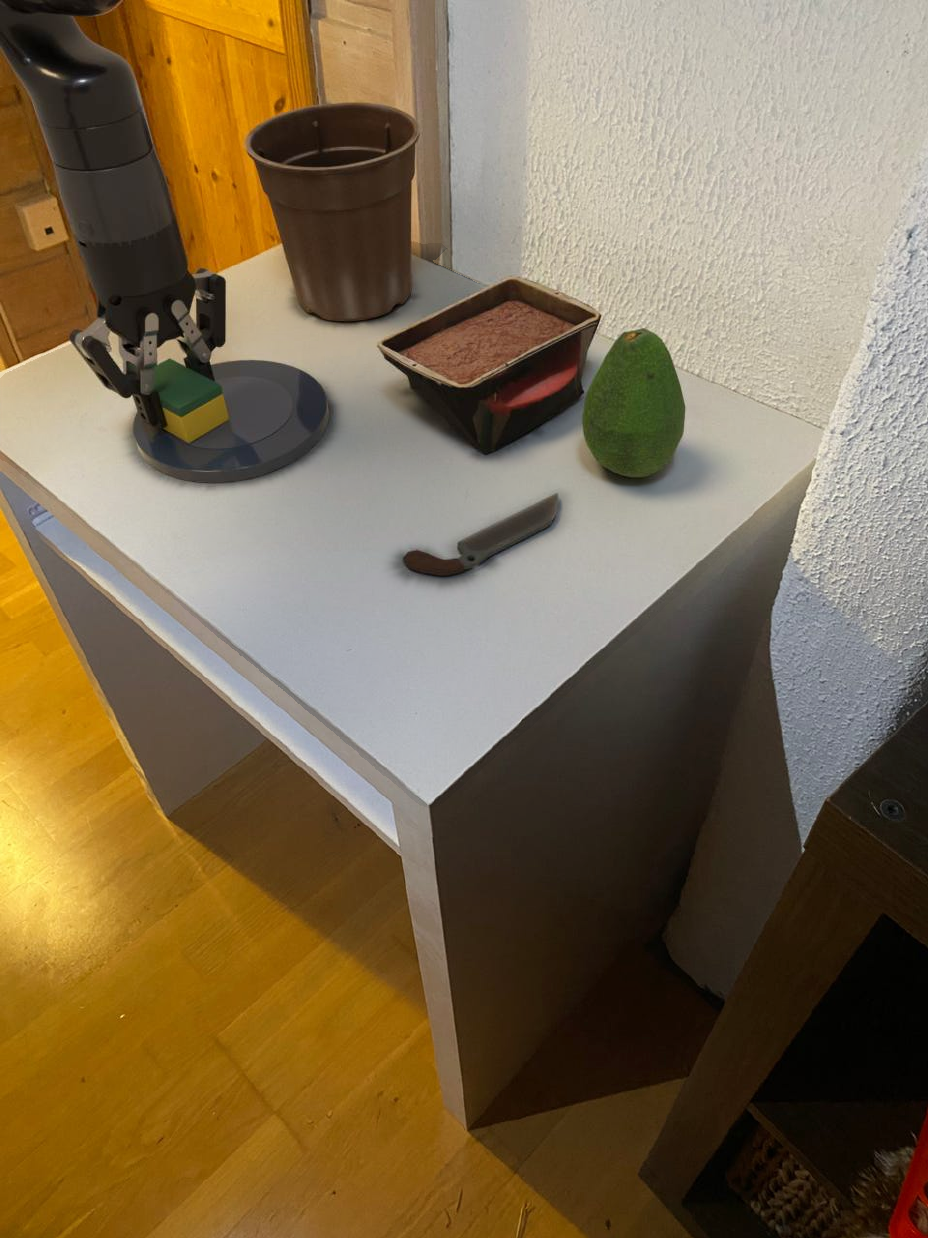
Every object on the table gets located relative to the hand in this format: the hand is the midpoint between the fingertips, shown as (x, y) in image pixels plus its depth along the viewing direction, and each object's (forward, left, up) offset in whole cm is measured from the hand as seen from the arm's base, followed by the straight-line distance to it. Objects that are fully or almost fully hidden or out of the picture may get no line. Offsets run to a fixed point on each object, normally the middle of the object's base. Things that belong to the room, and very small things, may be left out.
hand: (181, 410), depth 80 cm
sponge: (0, 0, -1) cm, 1 cm away
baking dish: (+20, -19, -2) cm, 28 cm away
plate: (+3, -3, -2) cm, 5 cm away
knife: (+5, -30, -2) cm, 31 cm away
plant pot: (+26, +5, -2) cm, 27 cm away
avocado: (+19, -34, -2) cm, 39 cm away
